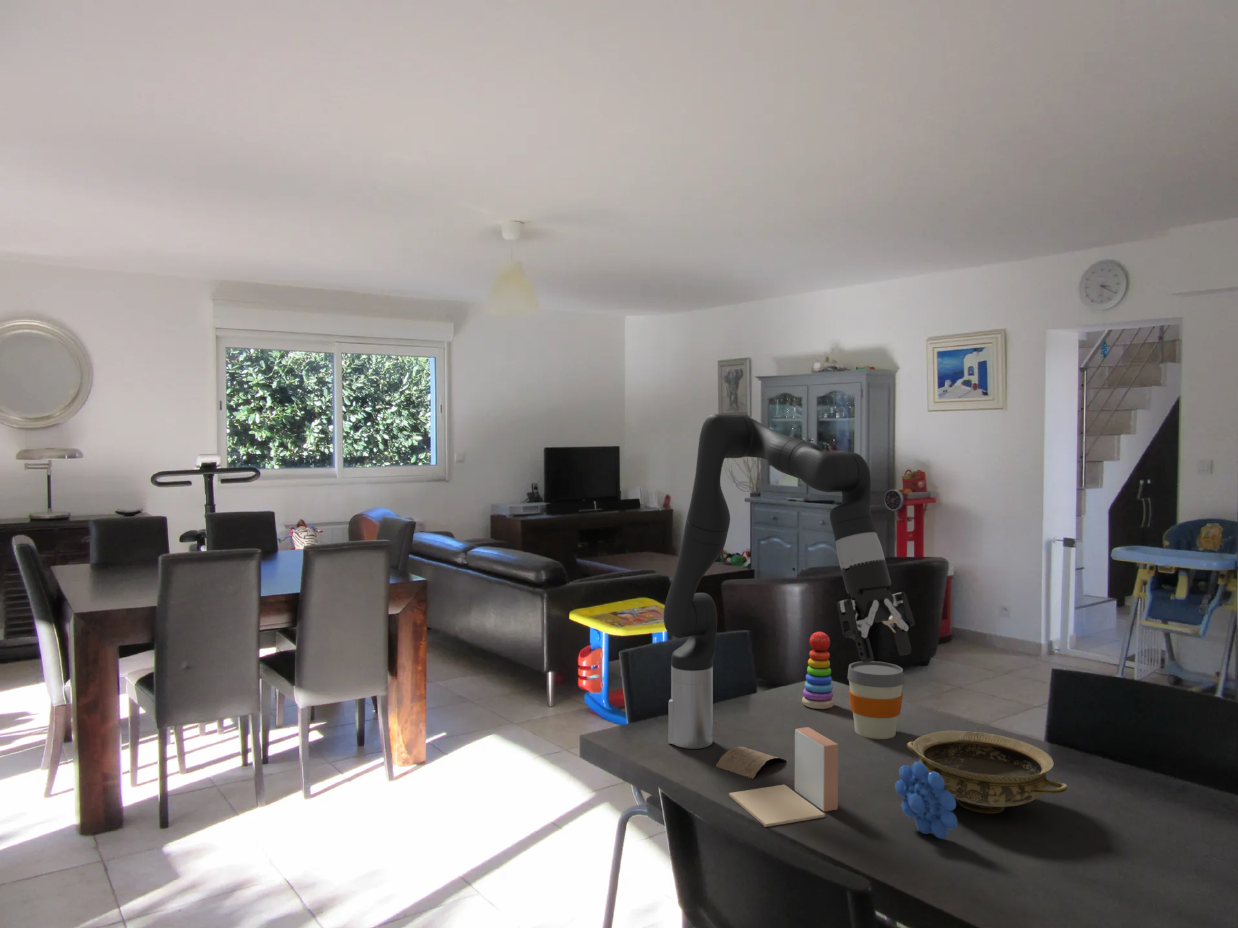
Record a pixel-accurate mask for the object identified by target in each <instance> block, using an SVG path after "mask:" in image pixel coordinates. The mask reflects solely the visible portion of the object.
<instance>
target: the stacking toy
mask: <svg viewBox="0 0 1238 928" xmlns="http://www.w3.org/2000/svg"><path fill="white" fill-rule="evenodd" d="M809 645H810V647H811V648H812V650H810V651H809V655H808V656H809V657H810V658H809V659H808V660H807V665H808V666H807V669H806V671H807V674H805V680H806V681H805V682H804V689H803V691H802V696H803V697H802V698H801V702H802V704H803V706H806V707H808V708H810V709H815V710H816V709H817V710H828V709H831V708H833V707H834V705H835V700H834V698H833V697H834V693H833V691H832V690H833V688H834V687H833V683H832V681H833V677H832V676H831V674H832V669H831V667H830V666H831V663H830V660H829V659H830V655H831V654H830V652H829V651H827V650H828V649H829V647H830V645H831V639H830V637H829V635H828V634H827V633H825V632H823V631H816V632H813V633H812V634H811V635H810V638H809Z"/></svg>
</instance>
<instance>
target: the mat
mask: <svg viewBox="0 0 1238 928" xmlns="http://www.w3.org/2000/svg"><path fill="white" fill-rule="evenodd" d="M728 797H730V798H731V799H732V800H733V801H734V802H736V803H737V804H738V805H740V807H742V808H743V809H744V810H745V811H747V813H749V815H751V816H752V817H754V818H755V819H756V820H757V821H758V822H759V823H760V824H761V825H763V827H766V828H768V827H774V826H779V825H784V824H785V825H786V824H791V823H797V822H802V821H809V820H814V819H815V820H816V819H820V818H825V817H826V814H825V813H824V811H821V809H820V808H819V809H818V807H817V806H816V805H814V804H813V803H811V802H810V801H809V800H807V799H806V798H805V797H803V796H802V795H800V794H799V793H798V792H796V791H795V790H792V789H791V787H788V786H787V785H786V784H778V785H773V786H766V787H760V788H753V789H746V790H740V791H735V792H729V793H728Z"/></svg>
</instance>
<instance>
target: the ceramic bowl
mask: <svg viewBox="0 0 1238 928" xmlns="http://www.w3.org/2000/svg"><path fill="white" fill-rule="evenodd" d="M906 747H907V748H908V750H910V751H911V752H912V753H913V754H915V755H916V756H917V757H919V760H918V762H921V763H923V764H924V765H925V766H926V767H927V769H928V772H929V773H930V772H934V771H935V772H937V773H939V774H940V775H941V776H942V778H943V780H944V783H945V786H944V789H943V790H946V791H949V792H950V793H951V794H952V795H953V796H954V798H955V800H956V803H958V804H959V805H960V806H961V807H962V808H965V809H967V810H968V811H972V812H976V813H982V814H983V813H984V814H997V813H1001V812H1004V810H1005V809H1006V808H1007V807H1015V806H1020V805H1024V804H1029V803H1030V802H1033V801H1034V800H1036V799H1038V798H1039V797H1040V796H1042V795H1043V794H1044V795H1059V794H1062V793H1065V792H1067V790H1068V785H1067V784H1066V783H1064V782H1060V781H1055V780H1049V779H1048V777H1047V773H1049V772H1050V771H1051V770H1052V769H1053V768H1054V764H1055V763H1054V760H1053V758H1052V756H1051V755H1050V754H1048V753H1047V752H1045V751H1044V750H1043V749H1041V748H1039V747H1038V746H1035V745H1033V744H1030V743H1027V742H1025V741H1022V740H1019V739H1016V738H1012V737H1007V736H1004V735H999V734H993V733H988V732H979V731H966V730H965V731H964V730H941V731H935V732H931V733H930V732H929V733H927V734H923V735H922V736H920V737H918V738H916V739H915V740H914V741H909V742H908V743H906ZM1047 787H1052V788H1047ZM1053 787H1054V788H1053ZM943 790H942V791H943Z"/></svg>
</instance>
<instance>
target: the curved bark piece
mask: <svg viewBox="0 0 1238 928" xmlns="http://www.w3.org/2000/svg"><path fill="white" fill-rule="evenodd" d="M774 759H778V760H781V761H784V762H787V759H786V760H785V759H784V758H780V757H778V756H774V755H771V754H767V753H765V752H761V751H758V750H755V749H751V748H748V747H746V746H735V747H733V748H730V749H728V751H727V750H726V752H725V753H724V754H722V755H721V757H720V758H719V760H718V761H717V763H716V765H715V766H716V767H717V768H719V769H721V768H722V769H723V770H724V771H728V770H729V772H731V773H734V772H735V773H734V774H737V775H739V776H740V775H741V776H743V777H747V776H748V777H747V778H749V777H750V778H749V779H751V778H752V780H753V779H754V778H755V776H756V775H757V773H758V772H759V771H760V770H761V769H762V767H764V765H765V764H766V762H767V761H770V760H774Z"/></svg>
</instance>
